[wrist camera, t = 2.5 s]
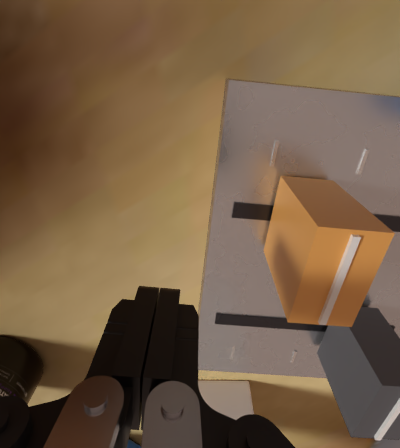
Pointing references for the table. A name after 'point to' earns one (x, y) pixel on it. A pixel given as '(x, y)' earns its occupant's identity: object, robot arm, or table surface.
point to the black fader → (365, 374)
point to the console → (263, 206)
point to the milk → (227, 397)
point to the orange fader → (322, 251)
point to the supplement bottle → (18, 369)
